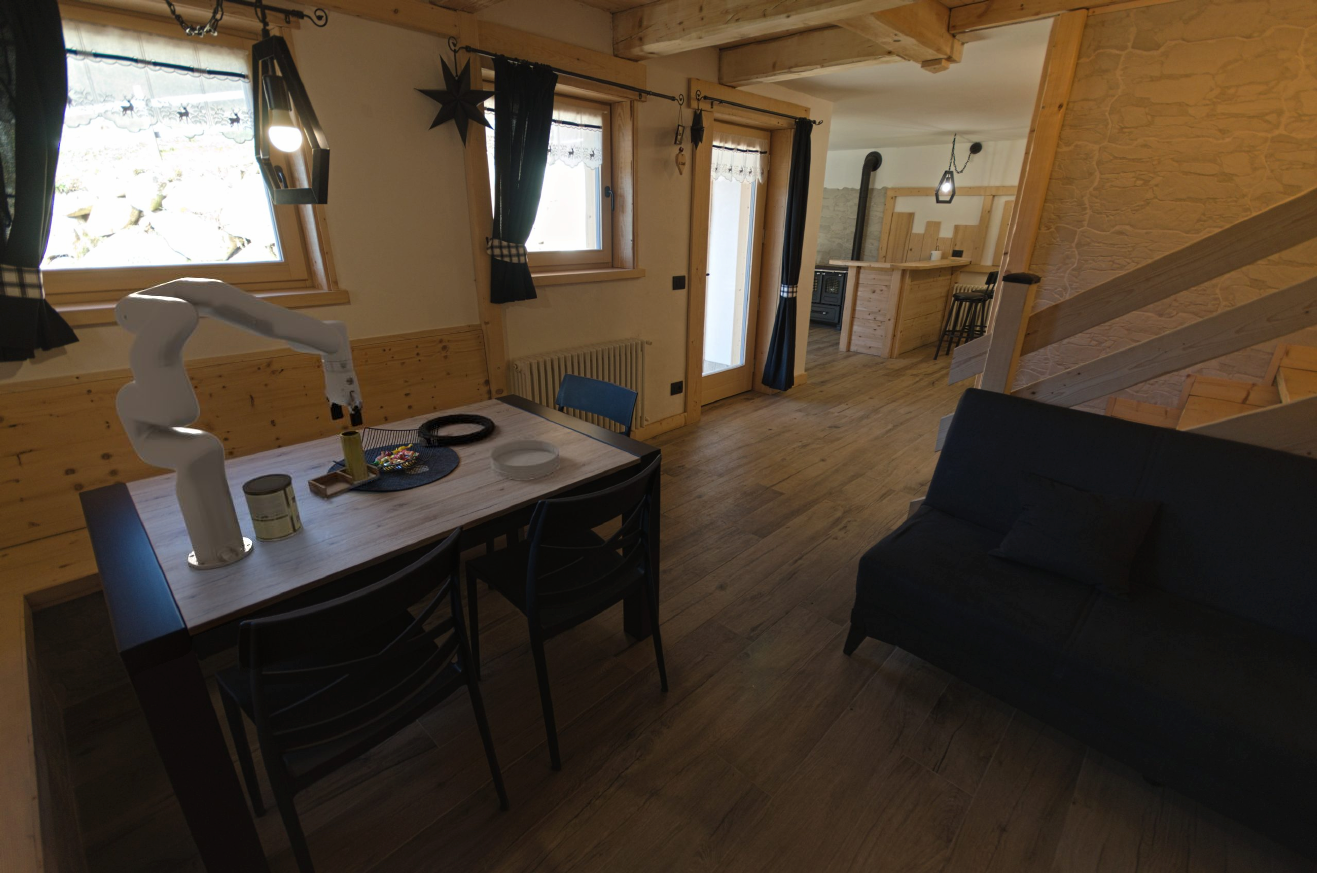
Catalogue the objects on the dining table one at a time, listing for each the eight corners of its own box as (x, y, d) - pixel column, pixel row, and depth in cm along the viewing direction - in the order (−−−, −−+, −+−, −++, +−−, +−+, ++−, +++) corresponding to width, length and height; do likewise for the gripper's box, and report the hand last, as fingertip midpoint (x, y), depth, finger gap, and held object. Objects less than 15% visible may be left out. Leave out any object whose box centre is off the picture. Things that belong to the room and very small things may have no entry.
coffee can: (251, 530, 148) (238, 481, 143) (296, 517, 155) (285, 469, 150) (260, 547, 141) (246, 495, 136) (307, 532, 148) (296, 483, 143)
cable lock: (510, 420, 220) (450, 445, 196) (510, 429, 222) (451, 455, 197) (457, 408, 232) (393, 430, 207) (457, 417, 234) (395, 440, 209)
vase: (344, 482, 173) (336, 437, 168) (349, 473, 178) (340, 430, 173) (367, 480, 174) (359, 435, 169) (370, 471, 180) (363, 428, 175)
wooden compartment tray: (379, 478, 178) (378, 467, 177) (326, 498, 165) (323, 487, 164) (363, 471, 183) (361, 461, 181) (309, 491, 169) (307, 480, 168)
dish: (567, 455, 199) (566, 441, 198) (550, 483, 179) (549, 468, 177) (504, 451, 201) (503, 438, 199) (480, 478, 180) (479, 464, 179)
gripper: (368, 367, 163) (377, 424, 169) (333, 358, 171) (342, 413, 177) (342, 372, 157) (352, 431, 163) (307, 363, 165) (318, 419, 171)
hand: (347, 422), depth 170 cm, fingers open, 9 cm apart
